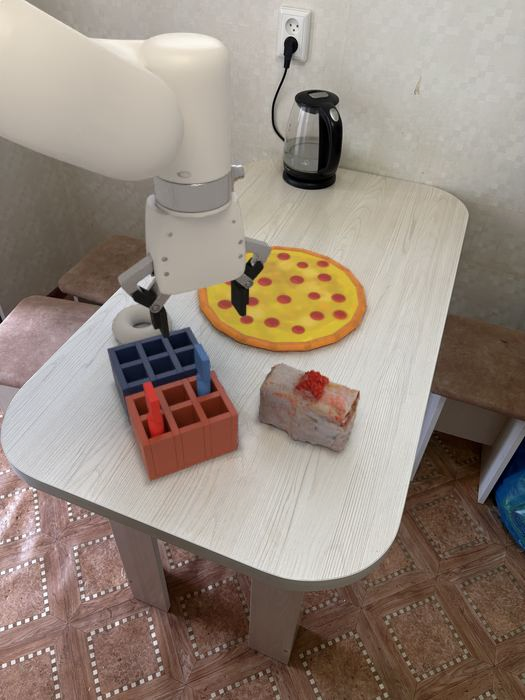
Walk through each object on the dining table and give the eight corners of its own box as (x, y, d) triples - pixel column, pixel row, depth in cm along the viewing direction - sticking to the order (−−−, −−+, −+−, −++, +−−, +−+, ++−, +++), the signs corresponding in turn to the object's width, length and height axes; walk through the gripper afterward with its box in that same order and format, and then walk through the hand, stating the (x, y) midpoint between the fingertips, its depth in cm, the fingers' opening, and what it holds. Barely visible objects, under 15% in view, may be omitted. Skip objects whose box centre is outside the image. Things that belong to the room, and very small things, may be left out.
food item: (357, 422, 75) (369, 376, 68) (341, 463, 70) (353, 418, 63) (272, 392, 79) (276, 346, 72) (251, 429, 73) (253, 383, 67)
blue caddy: (130, 425, 73) (122, 389, 67) (115, 384, 78) (106, 348, 73) (211, 399, 77) (210, 363, 72) (192, 362, 83) (189, 326, 77)
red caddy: (150, 481, 66) (142, 446, 61) (132, 432, 72) (124, 396, 67) (237, 449, 71) (238, 414, 65) (214, 405, 76) (213, 369, 71)
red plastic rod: (158, 469, 67) (146, 403, 58) (151, 450, 69) (139, 384, 60) (171, 464, 68) (162, 398, 58) (164, 446, 70) (154, 380, 60)
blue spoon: (203, 428, 72) (199, 362, 63) (195, 412, 74) (190, 346, 65) (215, 424, 73) (212, 358, 63) (207, 408, 75) (203, 342, 65)
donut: (134, 309, 92) (101, 342, 85) (131, 293, 90) (98, 326, 83) (182, 324, 90) (153, 359, 83) (181, 308, 87) (151, 343, 80)
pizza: (249, 234, 112) (249, 230, 111) (388, 279, 102) (389, 274, 101) (163, 313, 91) (162, 308, 90) (326, 379, 81) (327, 374, 80)
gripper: (257, 156, 54) (254, 285, 66) (93, 183, 48) (122, 319, 60) (290, 186, 49) (280, 320, 61) (112, 221, 43) (139, 360, 55)
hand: (201, 319), depth 61 cm, fingers open, 9 cm apart
